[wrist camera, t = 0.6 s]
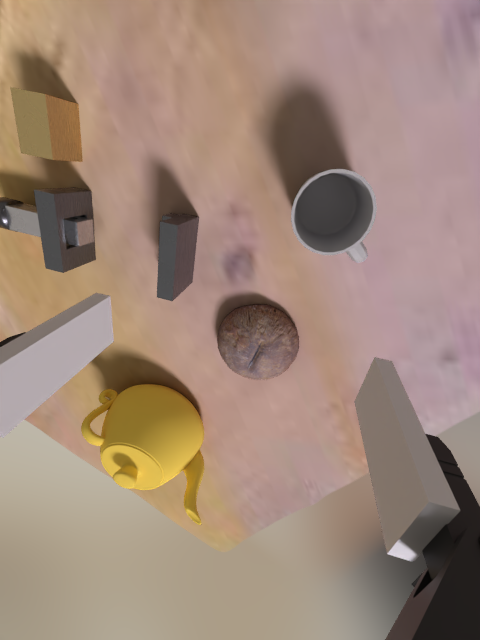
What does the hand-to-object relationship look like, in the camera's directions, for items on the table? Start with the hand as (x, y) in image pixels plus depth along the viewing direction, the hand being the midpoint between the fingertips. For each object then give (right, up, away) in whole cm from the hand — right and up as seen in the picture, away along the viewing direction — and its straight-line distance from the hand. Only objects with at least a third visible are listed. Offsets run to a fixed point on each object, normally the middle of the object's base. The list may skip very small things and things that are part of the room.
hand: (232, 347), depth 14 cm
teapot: (-13, -17, +41) cm, 46 cm away
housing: (-14, +13, +25) cm, 32 cm away
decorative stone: (+3, -1, +29) cm, 29 cm away
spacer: (-21, +25, +21) cm, 39 cm away
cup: (+11, +14, +20) cm, 26 cm away
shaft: (-25, +15, +26) cm, 39 cm away
